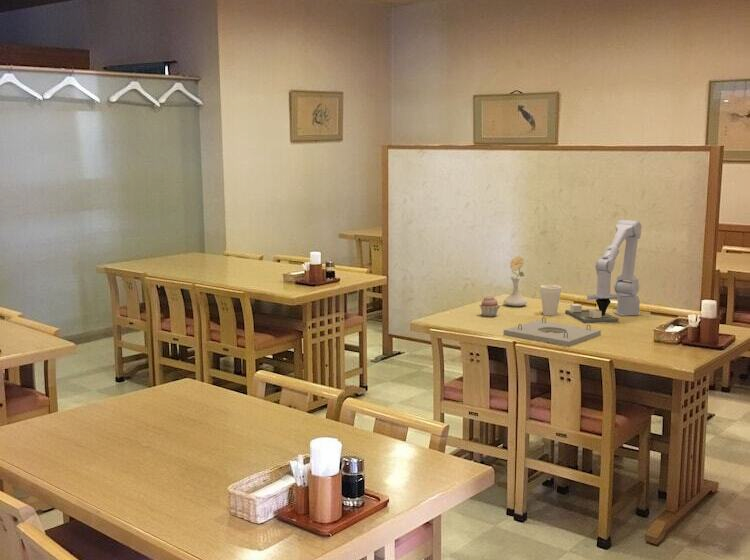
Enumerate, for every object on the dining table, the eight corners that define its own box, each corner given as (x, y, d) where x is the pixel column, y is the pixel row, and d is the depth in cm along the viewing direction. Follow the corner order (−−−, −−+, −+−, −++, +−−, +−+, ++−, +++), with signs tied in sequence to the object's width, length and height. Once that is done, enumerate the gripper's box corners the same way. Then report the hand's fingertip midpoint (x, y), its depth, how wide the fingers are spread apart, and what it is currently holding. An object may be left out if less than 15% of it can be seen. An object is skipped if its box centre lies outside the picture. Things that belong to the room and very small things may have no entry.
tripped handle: (597, 316, 372) (597, 309, 372) (601, 317, 368) (601, 311, 368) (589, 316, 371) (589, 309, 371) (592, 318, 367) (593, 311, 367)
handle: (578, 310, 385) (578, 303, 385) (581, 311, 381) (581, 305, 381) (570, 310, 384) (570, 304, 384) (573, 312, 381) (573, 305, 380)
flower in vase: (499, 303, 409) (500, 254, 405) (520, 302, 412) (521, 253, 408) (511, 308, 396) (512, 257, 392) (532, 307, 400) (534, 256, 396)
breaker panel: (597, 312, 389) (597, 308, 389) (618, 322, 368) (618, 318, 367) (565, 313, 386) (565, 309, 386) (584, 323, 365) (584, 319, 365)
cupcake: (494, 313, 386) (495, 292, 384) (502, 317, 377) (503, 295, 376) (475, 314, 384) (476, 293, 382) (483, 318, 375) (484, 296, 373)
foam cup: (554, 317, 378) (555, 289, 376) (536, 314, 383) (537, 287, 381) (563, 313, 385) (564, 286, 383) (545, 311, 391) (546, 284, 389)
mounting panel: (568, 335, 321) (503, 324, 341) (568, 348, 322) (503, 336, 342) (601, 324, 341) (537, 314, 361) (600, 336, 342) (537, 326, 362)
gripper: (592, 287, 363) (590, 317, 365) (623, 286, 365) (621, 316, 367) (585, 284, 370) (584, 314, 372) (615, 284, 372) (614, 313, 374)
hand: (602, 315), depth 370 cm, fingers closed
